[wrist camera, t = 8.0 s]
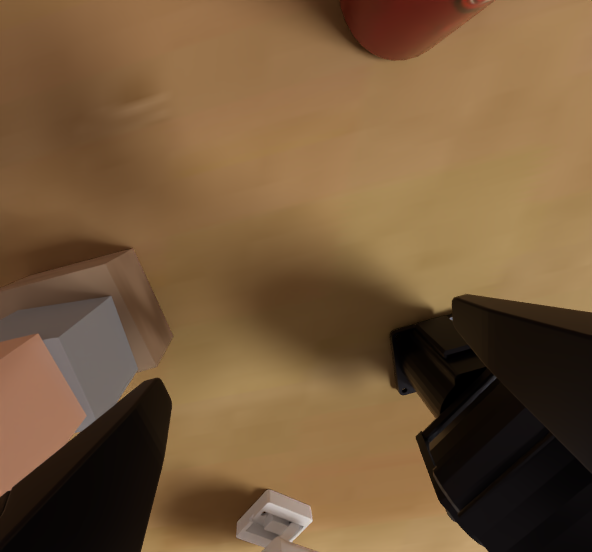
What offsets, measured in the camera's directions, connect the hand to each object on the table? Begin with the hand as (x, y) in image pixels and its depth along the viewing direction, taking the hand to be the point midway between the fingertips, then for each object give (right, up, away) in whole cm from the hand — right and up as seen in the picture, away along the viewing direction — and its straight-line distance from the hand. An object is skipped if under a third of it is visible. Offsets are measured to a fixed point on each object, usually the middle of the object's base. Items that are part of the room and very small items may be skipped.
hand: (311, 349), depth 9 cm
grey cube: (-13, -2, +8) cm, 16 cm away
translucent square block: (-14, 0, +12) cm, 18 cm away
